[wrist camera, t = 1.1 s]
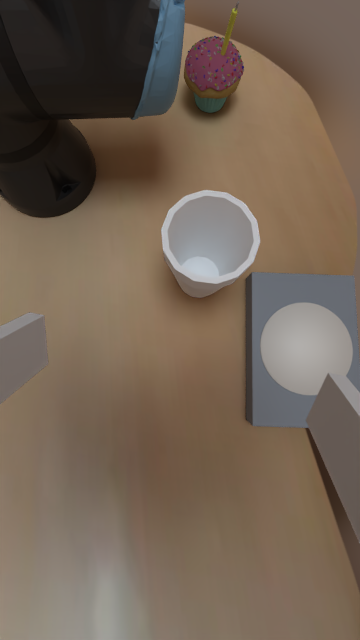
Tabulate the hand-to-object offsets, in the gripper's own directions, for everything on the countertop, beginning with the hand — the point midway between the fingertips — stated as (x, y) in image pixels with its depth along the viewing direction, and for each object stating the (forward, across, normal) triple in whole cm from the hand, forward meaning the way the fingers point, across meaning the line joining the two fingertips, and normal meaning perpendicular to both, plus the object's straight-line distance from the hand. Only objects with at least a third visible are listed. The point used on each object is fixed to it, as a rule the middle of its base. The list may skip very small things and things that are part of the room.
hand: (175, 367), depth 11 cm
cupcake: (+41, -5, +24) cm, 48 cm away
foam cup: (+26, -1, -2) cm, 26 cm away
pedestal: (+23, +15, -8) cm, 29 cm away
